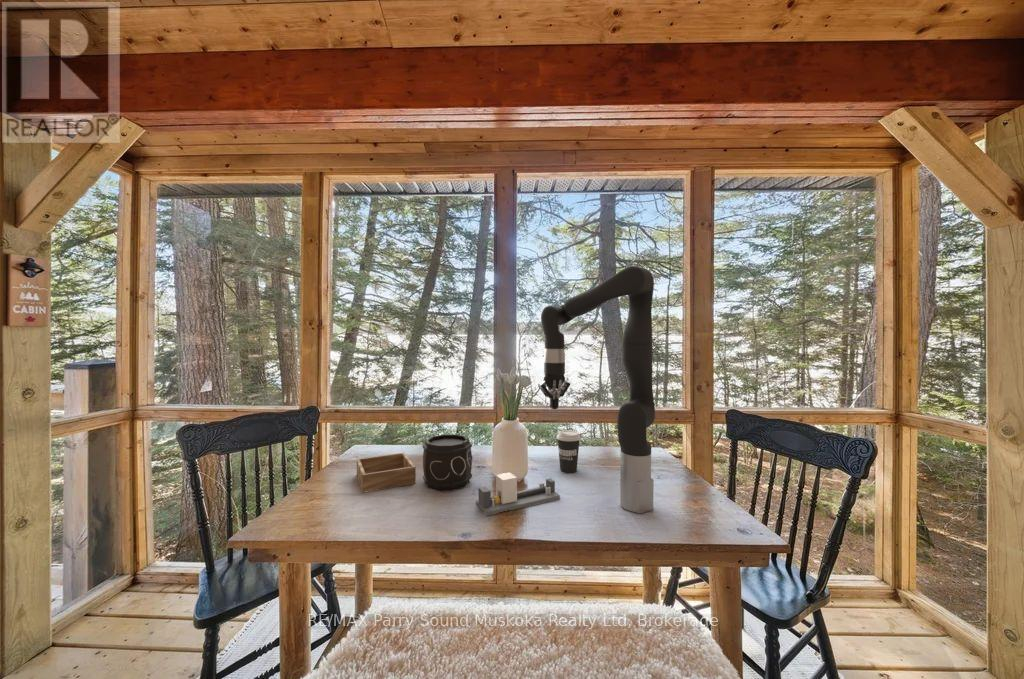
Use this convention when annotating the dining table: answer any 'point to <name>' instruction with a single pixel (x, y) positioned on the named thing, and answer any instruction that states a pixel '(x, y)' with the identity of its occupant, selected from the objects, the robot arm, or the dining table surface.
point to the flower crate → (385, 471)
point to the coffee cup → (568, 450)
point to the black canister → (447, 462)
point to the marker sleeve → (506, 487)
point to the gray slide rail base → (523, 498)
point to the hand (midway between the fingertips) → (554, 408)
